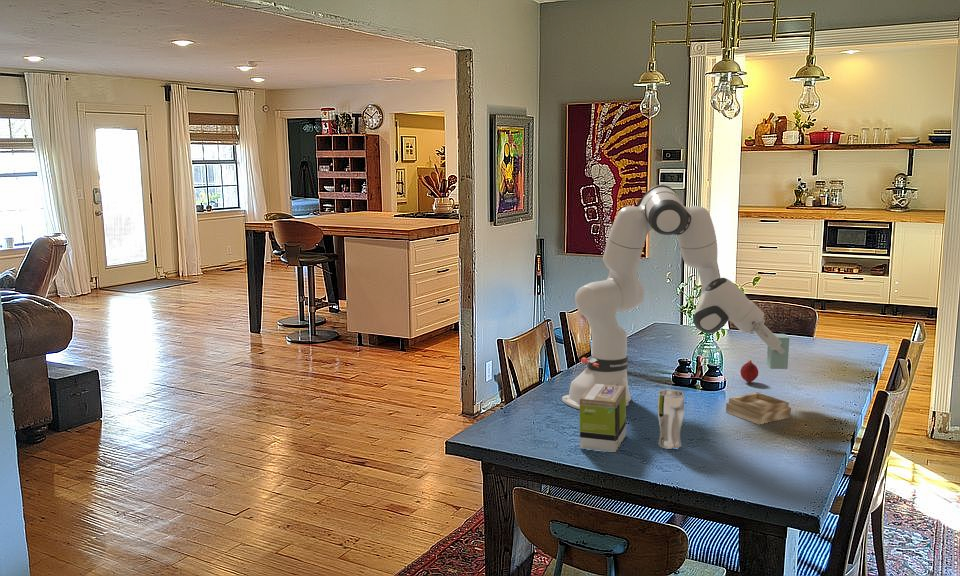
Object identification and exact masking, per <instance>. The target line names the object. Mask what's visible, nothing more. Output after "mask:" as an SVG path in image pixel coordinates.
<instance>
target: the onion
mask: <svg viewBox="0 0 960 576" xmlns="http://www.w3.org/2000/svg"><path fill="white" fill-rule="evenodd" d="M740 376H741V378H742V379H743V380H744V381H745V382H747V383H749V384H750V383H752V382H753V381H755V380H756V379H757V378H758V376H759V368H758V367H757V366H756V364H754V363H753V362H752V360H751V359H749V360H747V362H746V363H744V364H743V365H742V366H741V368H740Z"/></svg>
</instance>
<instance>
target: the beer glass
mask: <svg viewBox="0 0 960 576" xmlns="http://www.w3.org/2000/svg"><path fill="white" fill-rule="evenodd" d="M684 396H685V395H684V392H683V391H681V390H678V389H670V388H669V389H667V388H666V389H662V390H661V389H660V390H659V391H658V397H657V417H658V424H659V425H658V426H659V437H658V445H659V446H661V447H663V448H669V449H672V448H679V447H682V441H681V440H682V439H681V429H682V425H683V421H684V420H683V419H684V416H685V415H684V414H685V397H684ZM659 446H658V447H659ZM663 448H662V449H663Z"/></svg>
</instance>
